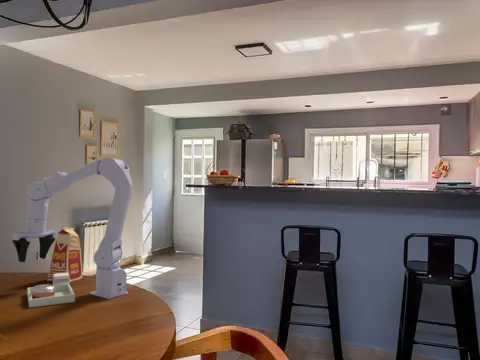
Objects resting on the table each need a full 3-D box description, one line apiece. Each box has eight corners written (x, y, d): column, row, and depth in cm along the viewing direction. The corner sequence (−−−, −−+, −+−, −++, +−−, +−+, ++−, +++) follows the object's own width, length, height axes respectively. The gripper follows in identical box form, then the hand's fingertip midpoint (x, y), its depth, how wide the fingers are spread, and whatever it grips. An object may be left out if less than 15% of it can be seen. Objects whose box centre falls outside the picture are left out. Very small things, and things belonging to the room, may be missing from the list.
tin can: (58, 299, 116) (59, 286, 116) (39, 304, 111) (39, 290, 111) (47, 296, 119) (47, 283, 119) (27, 300, 114) (28, 287, 114)
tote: (74, 303, 115) (74, 294, 115) (28, 308, 108) (29, 300, 108) (68, 291, 127) (68, 283, 127) (27, 295, 120) (27, 287, 121)
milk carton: (69, 283, 136) (70, 227, 136) (46, 281, 138) (47, 225, 138) (84, 277, 145) (85, 224, 145) (62, 275, 147) (64, 223, 147)
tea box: (69, 290, 128) (69, 275, 128) (53, 292, 125) (54, 276, 125) (67, 286, 132) (67, 272, 132) (52, 288, 129) (53, 273, 129)
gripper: (47, 216, 134) (42, 254, 134) (7, 217, 120) (2, 260, 120) (61, 218, 131) (57, 258, 131) (23, 221, 118) (18, 265, 117)
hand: (32, 259), depth 125 cm, fingers open, 7 cm apart
